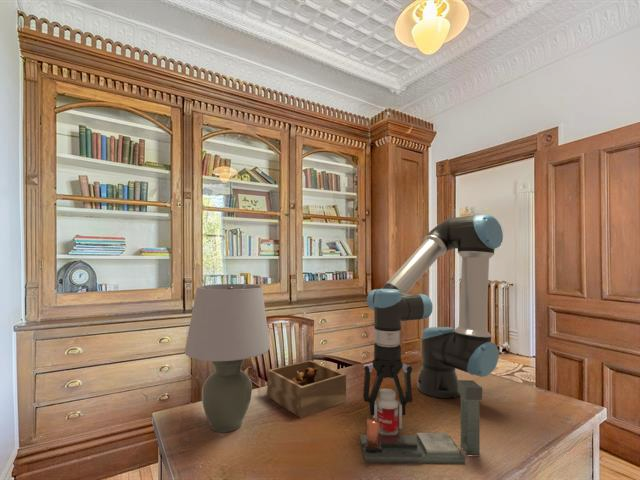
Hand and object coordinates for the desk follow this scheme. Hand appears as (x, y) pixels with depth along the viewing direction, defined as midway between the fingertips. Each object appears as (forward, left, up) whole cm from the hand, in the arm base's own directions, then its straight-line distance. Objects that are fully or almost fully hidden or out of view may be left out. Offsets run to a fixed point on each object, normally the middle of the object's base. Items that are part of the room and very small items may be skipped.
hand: (387, 426), depth 94 cm
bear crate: (-31, -5, -2) cm, 32 cm away
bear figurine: (-32, -6, -2) cm, 33 cm away
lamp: (-31, -34, -2) cm, 46 cm away
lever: (+6, -12, 0) cm, 14 cm away
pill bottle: (0, 0, -2) cm, 2 cm away
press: (+11, -1, -2) cm, 11 cm away
